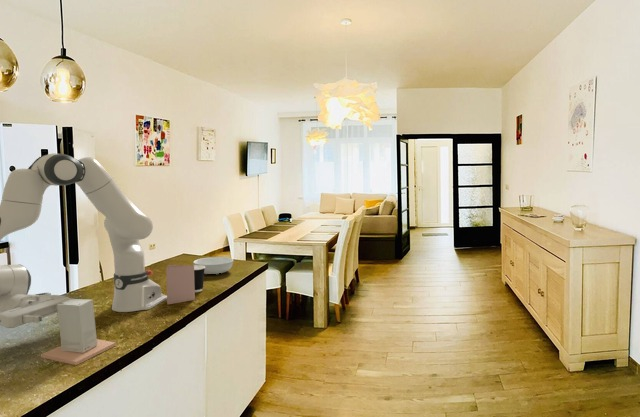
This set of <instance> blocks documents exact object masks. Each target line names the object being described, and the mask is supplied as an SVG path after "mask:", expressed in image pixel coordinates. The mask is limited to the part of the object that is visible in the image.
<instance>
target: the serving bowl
mask: <svg viewBox="0 0 640 417" xmlns="http://www.w3.org/2000/svg"><path fill="white" fill-rule="evenodd" d="M192 263H193V265H194V266H195V265H202V266H205V270H204V275H207V274H216V275H220V274H219V273H221V274H223V273H227V272H228V271H229V270H231V268H232V267H233V264H234V259H233V258H231V257H225V256H212V257H210V256H209V257H203V258H198V259H195V260H194V261H192Z"/></svg>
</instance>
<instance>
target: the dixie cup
mask: <svg viewBox="0 0 640 417" xmlns="http://www.w3.org/2000/svg"><path fill="white" fill-rule="evenodd" d="M204 270H205V266H202V265H195V266H194V284H195V293H199V292H202V291H203V288H204V280H205V274H204Z"/></svg>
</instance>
